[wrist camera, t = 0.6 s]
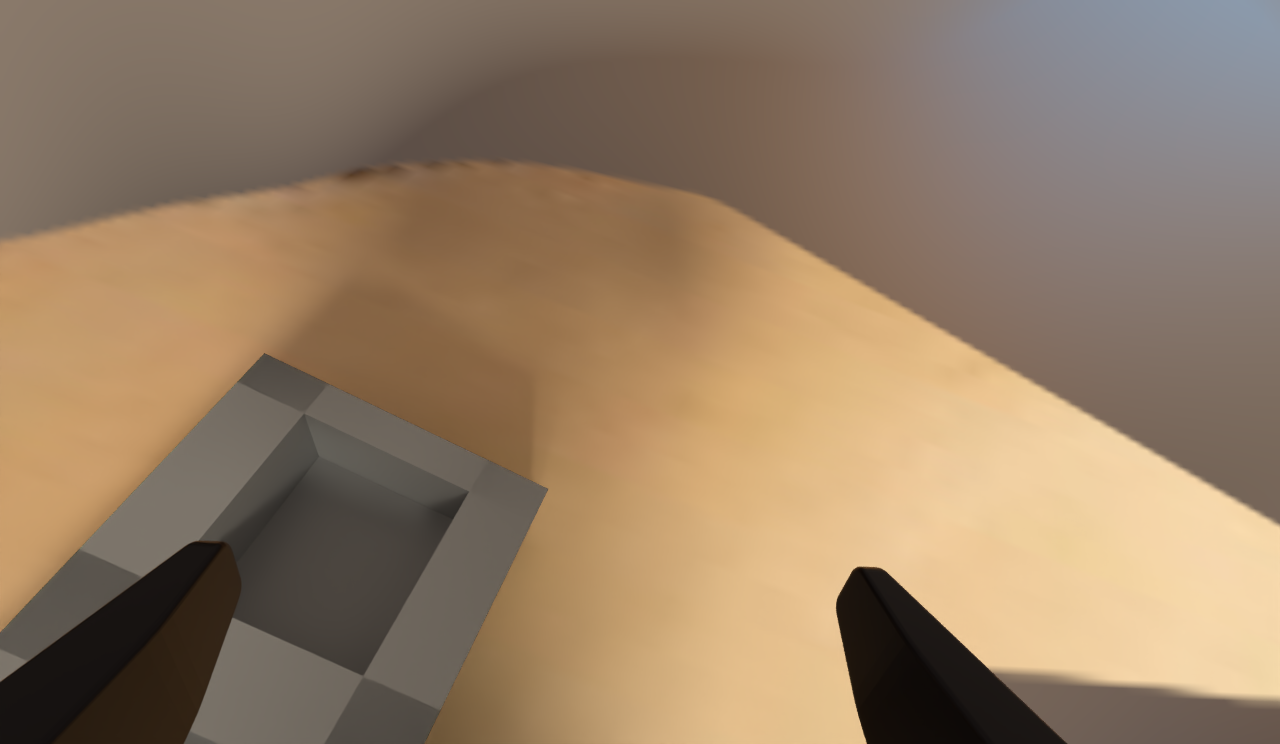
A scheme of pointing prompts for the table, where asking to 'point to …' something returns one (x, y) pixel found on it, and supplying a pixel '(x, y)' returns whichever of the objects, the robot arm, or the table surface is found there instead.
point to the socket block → (311, 561)
